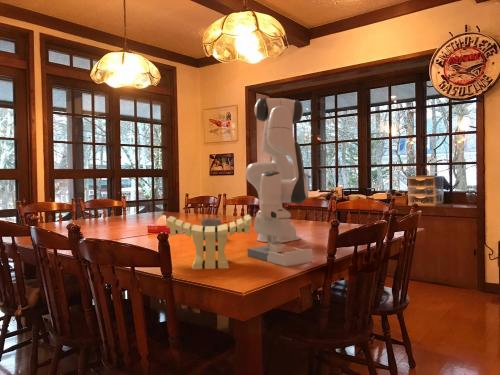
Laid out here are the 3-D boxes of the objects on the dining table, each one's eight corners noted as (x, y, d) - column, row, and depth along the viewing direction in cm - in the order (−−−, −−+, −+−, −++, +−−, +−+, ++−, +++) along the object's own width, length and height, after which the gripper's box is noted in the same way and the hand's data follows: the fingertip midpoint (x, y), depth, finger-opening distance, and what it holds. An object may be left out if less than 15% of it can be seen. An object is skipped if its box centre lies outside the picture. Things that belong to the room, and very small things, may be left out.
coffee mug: (217, 240, 205) (217, 220, 205) (199, 240, 207) (198, 220, 207) (224, 236, 219) (224, 217, 218) (206, 235, 220) (206, 217, 220)
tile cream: (278, 249, 163) (278, 243, 163) (285, 251, 159) (285, 244, 159) (269, 250, 160) (269, 244, 160) (276, 252, 157) (276, 246, 157)
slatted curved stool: (248, 258, 162) (248, 213, 161) (252, 267, 146) (251, 217, 145) (172, 260, 159) (171, 215, 159) (167, 270, 144) (166, 219, 143)
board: (273, 252, 173) (273, 245, 173) (292, 257, 162) (292, 249, 162) (247, 255, 166) (247, 248, 166) (266, 261, 155) (266, 253, 155)
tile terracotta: (292, 245, 156) (296, 250, 154) (288, 255, 158) (292, 259, 156) (283, 247, 153) (287, 251, 152) (279, 256, 155) (283, 260, 154)
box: (293, 257, 162) (293, 244, 162) (312, 262, 153) (312, 248, 153) (267, 261, 155) (267, 248, 155) (285, 267, 146) (285, 253, 146)
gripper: (250, 210, 169) (250, 243, 170) (280, 214, 152) (280, 251, 153) (262, 209, 173) (263, 242, 173) (293, 213, 156) (294, 249, 156)
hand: (271, 246), depth 163 cm, fingers closed
